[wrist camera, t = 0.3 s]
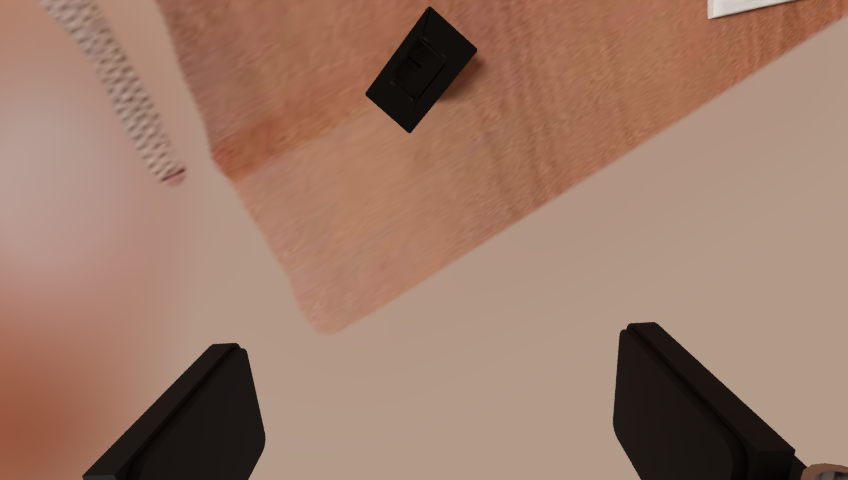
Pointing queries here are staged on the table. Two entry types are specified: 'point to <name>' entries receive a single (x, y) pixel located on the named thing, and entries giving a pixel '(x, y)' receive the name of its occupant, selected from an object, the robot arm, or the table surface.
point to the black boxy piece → (420, 70)
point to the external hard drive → (737, 6)
